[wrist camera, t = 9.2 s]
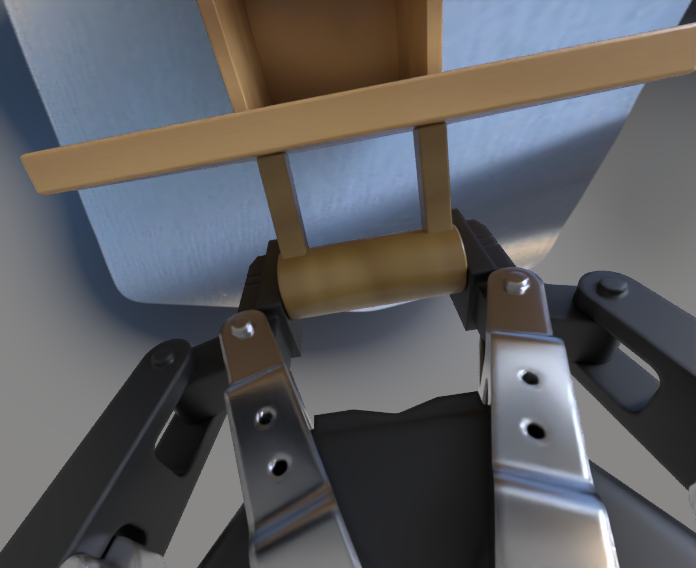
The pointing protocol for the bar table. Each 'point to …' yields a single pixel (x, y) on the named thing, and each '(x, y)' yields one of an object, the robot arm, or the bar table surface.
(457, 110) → the lid
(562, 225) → the bar table surface
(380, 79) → the chest
